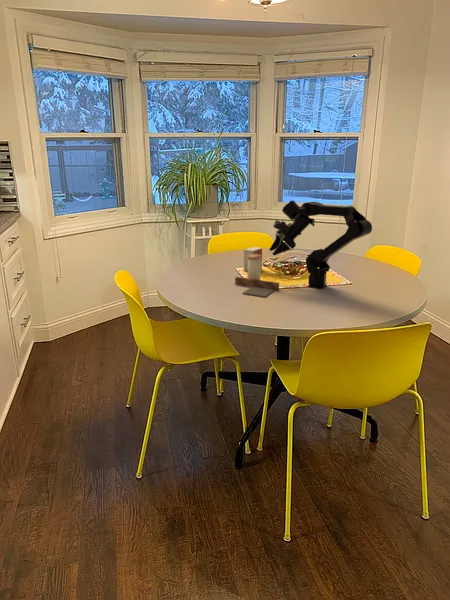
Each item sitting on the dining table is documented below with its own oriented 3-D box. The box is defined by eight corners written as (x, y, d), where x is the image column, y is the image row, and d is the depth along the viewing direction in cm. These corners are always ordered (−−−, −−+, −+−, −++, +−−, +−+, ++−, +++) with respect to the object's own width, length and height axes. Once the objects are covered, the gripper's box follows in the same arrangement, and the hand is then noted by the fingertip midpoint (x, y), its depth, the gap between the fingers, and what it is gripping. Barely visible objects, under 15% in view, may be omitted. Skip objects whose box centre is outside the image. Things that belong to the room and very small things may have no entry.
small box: (252, 272, 218) (253, 250, 215) (243, 270, 222) (243, 249, 218) (262, 269, 224) (262, 248, 221) (252, 267, 228) (253, 246, 224)
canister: (262, 281, 204) (263, 255, 200) (257, 284, 199) (257, 257, 195) (250, 279, 207) (250, 253, 203) (244, 282, 202) (245, 256, 198)
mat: (274, 290, 191) (274, 289, 190) (265, 297, 182) (265, 296, 182) (252, 287, 195) (252, 286, 195) (242, 293, 187) (242, 292, 186)
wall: (278, 289, 192) (279, 282, 191) (277, 290, 191) (278, 283, 190) (236, 283, 201) (236, 276, 200) (235, 283, 200) (235, 277, 199)
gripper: (281, 210, 203) (256, 236, 206) (288, 216, 185) (261, 243, 188) (298, 228, 206) (273, 252, 209) (307, 235, 188) (279, 262, 191)
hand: (271, 252), depth 199 cm, fingers open, 9 cm apart
